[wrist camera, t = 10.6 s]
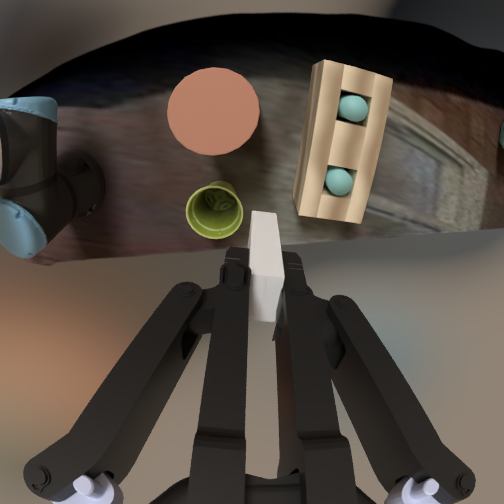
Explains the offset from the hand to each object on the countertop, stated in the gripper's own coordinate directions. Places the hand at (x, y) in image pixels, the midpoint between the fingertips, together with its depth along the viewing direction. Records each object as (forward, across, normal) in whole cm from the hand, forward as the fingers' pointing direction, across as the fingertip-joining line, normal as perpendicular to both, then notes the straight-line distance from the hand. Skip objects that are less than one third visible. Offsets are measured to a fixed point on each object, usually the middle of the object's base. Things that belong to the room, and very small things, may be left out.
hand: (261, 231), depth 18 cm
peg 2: (+34, +13, -3) cm, 36 cm away
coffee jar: (+35, -6, +6) cm, 36 cm away
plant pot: (+35, -6, -11) cm, 37 cm away
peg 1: (+34, +13, +9) cm, 37 cm away
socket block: (+34, +13, +3) cm, 37 cm away
